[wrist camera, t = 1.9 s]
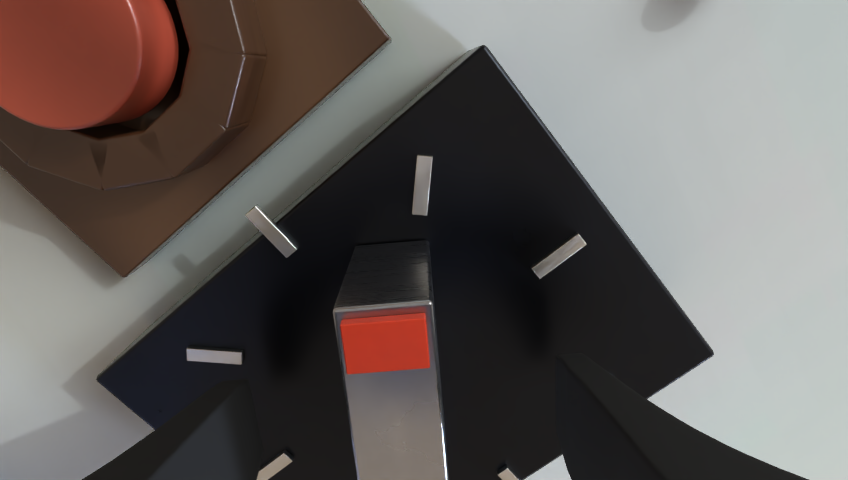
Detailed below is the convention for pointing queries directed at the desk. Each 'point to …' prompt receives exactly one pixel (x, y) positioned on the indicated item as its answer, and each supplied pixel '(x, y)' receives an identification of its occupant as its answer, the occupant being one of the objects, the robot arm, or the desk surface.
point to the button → (85, 60)
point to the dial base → (452, 289)
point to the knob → (391, 363)
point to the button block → (194, 121)
